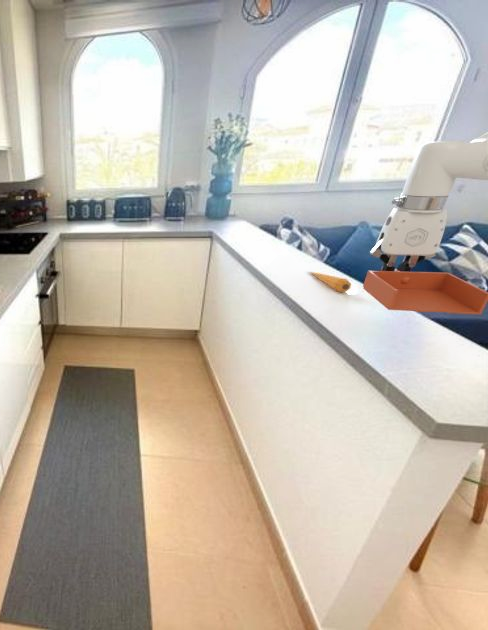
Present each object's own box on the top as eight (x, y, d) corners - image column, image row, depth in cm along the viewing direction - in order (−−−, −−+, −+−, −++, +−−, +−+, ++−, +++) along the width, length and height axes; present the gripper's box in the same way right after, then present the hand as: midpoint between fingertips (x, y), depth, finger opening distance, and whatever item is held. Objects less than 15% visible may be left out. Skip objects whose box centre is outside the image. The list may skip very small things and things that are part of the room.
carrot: (347, 295, 110) (356, 282, 108) (335, 290, 110) (343, 278, 108) (312, 279, 129) (319, 268, 127) (301, 275, 128) (308, 264, 127)
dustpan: (480, 314, 68) (491, 294, 66) (388, 309, 72) (395, 290, 70) (418, 277, 86) (424, 260, 84) (347, 275, 91) (352, 259, 89)
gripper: (385, 206, 75) (359, 284, 83) (480, 205, 71) (442, 288, 79) (370, 201, 82) (347, 274, 90) (455, 199, 77) (422, 276, 85)
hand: (391, 280), depth 84 cm, fingers closed on dustpan, 2 cm apart
